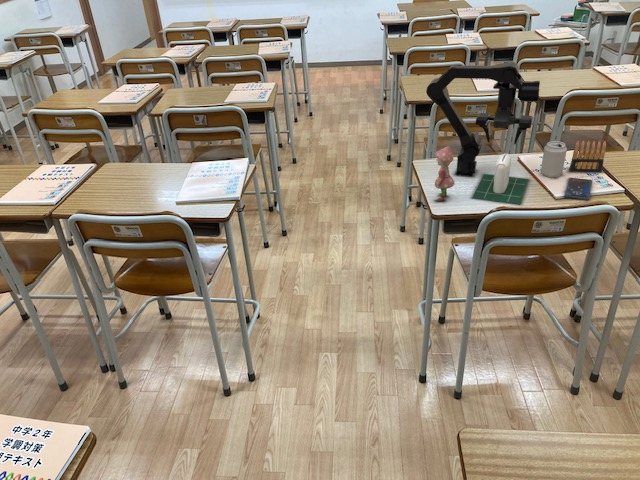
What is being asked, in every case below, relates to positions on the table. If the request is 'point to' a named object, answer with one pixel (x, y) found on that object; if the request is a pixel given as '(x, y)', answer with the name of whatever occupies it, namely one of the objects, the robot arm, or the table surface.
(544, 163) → the can
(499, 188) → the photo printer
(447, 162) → the cartoon character
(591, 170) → the ammunition clip
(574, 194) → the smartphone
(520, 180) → the cutting mat
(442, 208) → the table surface
